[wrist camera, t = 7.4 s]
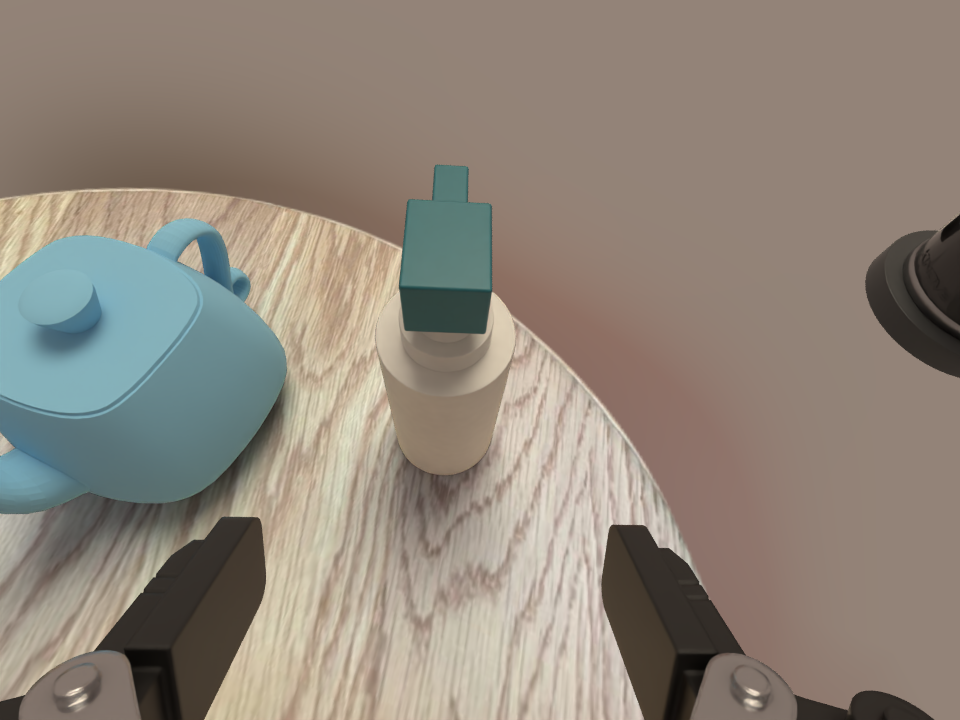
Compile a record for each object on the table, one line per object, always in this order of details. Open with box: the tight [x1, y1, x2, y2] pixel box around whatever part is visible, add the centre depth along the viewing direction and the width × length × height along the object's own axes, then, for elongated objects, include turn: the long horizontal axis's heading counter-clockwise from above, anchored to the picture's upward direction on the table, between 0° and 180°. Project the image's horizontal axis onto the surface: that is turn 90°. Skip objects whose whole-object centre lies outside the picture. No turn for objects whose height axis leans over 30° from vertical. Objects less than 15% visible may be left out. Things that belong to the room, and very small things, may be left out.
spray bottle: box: [375, 165, 516, 475], centre depth 23 cm, size 7×6×16 cm
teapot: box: [0, 218, 287, 514], centre depth 25 cm, size 13×11×18 cm
